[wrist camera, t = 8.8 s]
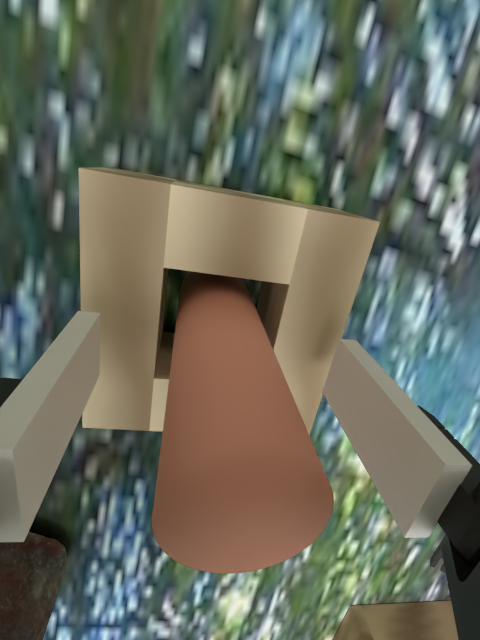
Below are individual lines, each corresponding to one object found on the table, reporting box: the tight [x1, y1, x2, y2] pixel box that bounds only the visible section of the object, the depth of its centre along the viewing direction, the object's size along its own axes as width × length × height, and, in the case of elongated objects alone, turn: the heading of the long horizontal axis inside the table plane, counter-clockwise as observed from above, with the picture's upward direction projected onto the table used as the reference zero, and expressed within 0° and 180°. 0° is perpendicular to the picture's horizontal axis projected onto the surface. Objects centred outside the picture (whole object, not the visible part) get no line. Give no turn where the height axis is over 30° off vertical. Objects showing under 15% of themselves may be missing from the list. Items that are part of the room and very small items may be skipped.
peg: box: [152, 271, 334, 573], centre depth 14 cm, size 4×4×14 cm
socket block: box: [79, 167, 380, 434], centre depth 18 cm, size 12×12×5 cm
